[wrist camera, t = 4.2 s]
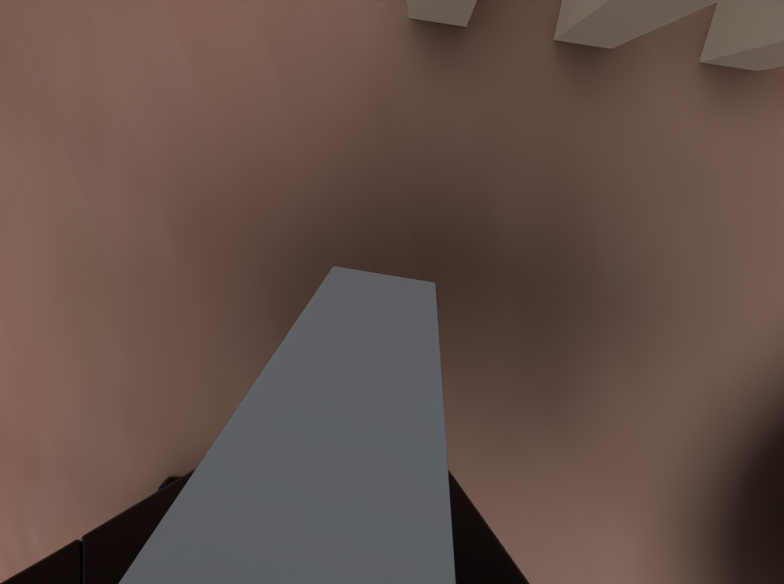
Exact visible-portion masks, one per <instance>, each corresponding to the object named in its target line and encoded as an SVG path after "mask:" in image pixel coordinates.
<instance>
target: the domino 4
mask: <svg viewBox="0 0 784 584" xmlns="http://www.w3.org/2000/svg"><path fill="white" fill-rule="evenodd" d="M699 62H700V63H707V64H713V65H720V66H726V67H733V68H740V69H746V70H753V71H761V70H767V69H772V68H778V67H783V66H784V0H721V1H719V2H717V4H716V7H715V11H714V14H713V17H712V21H711V24H710V27H709V31H708V34H707V37H706V40H705V44H704V47H703V50H702V54H701V57H700V60H699Z"/></svg>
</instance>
